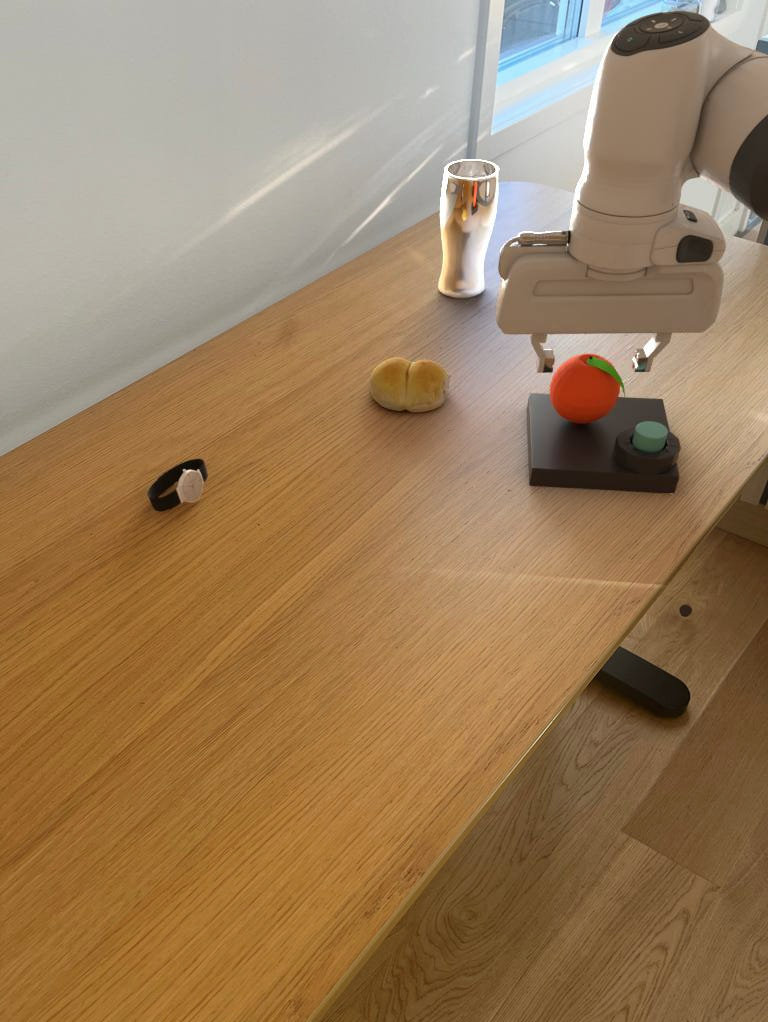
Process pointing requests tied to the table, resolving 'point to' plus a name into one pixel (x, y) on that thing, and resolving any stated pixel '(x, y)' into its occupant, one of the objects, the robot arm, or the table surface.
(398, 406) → the bread roll
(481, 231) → the beer glass
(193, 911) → the table surface
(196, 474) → the watch
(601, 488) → the black push button box
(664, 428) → the button
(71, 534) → the table surface
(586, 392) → the clementine
